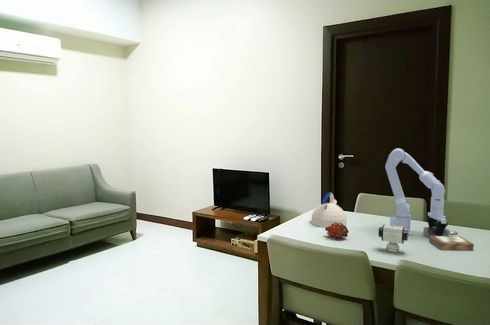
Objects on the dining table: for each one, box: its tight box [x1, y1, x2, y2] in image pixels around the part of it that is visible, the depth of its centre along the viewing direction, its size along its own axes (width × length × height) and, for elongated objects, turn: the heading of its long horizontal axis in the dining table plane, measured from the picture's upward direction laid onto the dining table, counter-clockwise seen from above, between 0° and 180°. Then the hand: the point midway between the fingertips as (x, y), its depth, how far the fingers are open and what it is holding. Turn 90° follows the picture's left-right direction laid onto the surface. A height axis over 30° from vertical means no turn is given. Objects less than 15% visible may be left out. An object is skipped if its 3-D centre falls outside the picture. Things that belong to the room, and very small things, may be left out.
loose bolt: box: [449, 230, 459, 236], centre depth 176 cm, size 7×2×2 cm, turn 106°
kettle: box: [310, 192, 348, 228], centre depth 198 cm, size 20×21×18 cm
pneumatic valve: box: [378, 224, 409, 253], centre depth 153 cm, size 6×12×12 cm, turn 60°
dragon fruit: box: [324, 222, 349, 240], centre depth 172 cm, size 8×8×12 cm
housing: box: [422, 226, 450, 239], centre depth 173 cm, size 10×5×5 cm, turn 87°
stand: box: [428, 235, 475, 251], centre depth 159 cm, size 14×11×3 cm
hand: (435, 233), depth 173 cm, fingers open, 7 cm apart
